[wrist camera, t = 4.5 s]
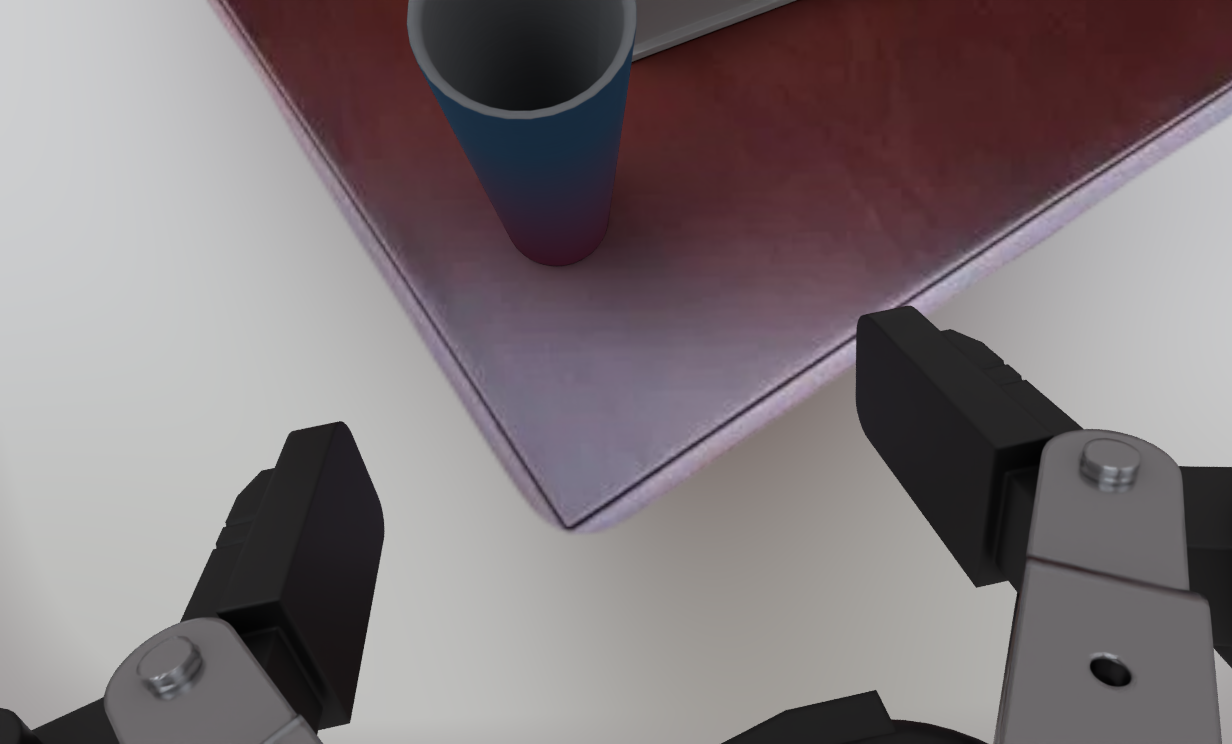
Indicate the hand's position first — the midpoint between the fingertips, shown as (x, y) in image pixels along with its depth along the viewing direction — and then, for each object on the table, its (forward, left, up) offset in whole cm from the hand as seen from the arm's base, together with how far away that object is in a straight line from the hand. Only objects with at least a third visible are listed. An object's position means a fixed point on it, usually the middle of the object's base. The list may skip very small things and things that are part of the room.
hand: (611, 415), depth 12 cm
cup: (-2, +10, -16) cm, 19 cm away
